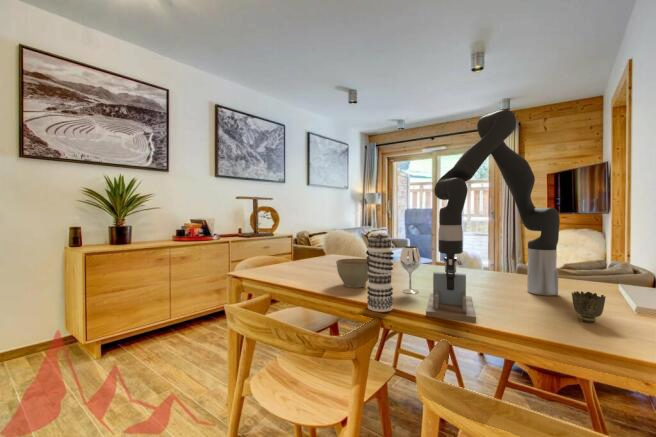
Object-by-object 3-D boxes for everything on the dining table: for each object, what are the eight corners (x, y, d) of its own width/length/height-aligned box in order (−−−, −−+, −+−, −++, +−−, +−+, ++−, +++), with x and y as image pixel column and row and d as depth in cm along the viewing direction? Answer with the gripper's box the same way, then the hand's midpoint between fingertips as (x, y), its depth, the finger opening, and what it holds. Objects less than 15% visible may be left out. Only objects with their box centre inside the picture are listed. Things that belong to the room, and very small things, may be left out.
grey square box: (433, 300, 103) (433, 271, 103) (465, 303, 99) (465, 274, 99) (433, 302, 101) (433, 273, 101) (465, 306, 97) (465, 275, 97)
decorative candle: (377, 314, 95) (377, 235, 94) (361, 305, 103) (360, 233, 103) (399, 309, 99) (399, 234, 99) (382, 301, 107) (382, 232, 107)
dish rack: (430, 296, 113) (430, 281, 113) (471, 300, 108) (471, 284, 108) (425, 316, 93) (425, 296, 93) (476, 321, 87) (476, 301, 87)
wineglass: (421, 294, 116) (421, 248, 116) (400, 293, 118) (400, 248, 117) (419, 289, 124) (419, 246, 124) (399, 288, 126) (399, 245, 125)
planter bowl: (379, 283, 134) (378, 259, 134) (363, 292, 121) (363, 265, 120) (347, 279, 143) (347, 257, 143) (329, 287, 129) (329, 262, 129)
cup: (564, 317, 91) (565, 291, 90) (587, 316, 91) (587, 290, 91) (588, 326, 83) (588, 298, 83) (612, 325, 84) (612, 297, 84)
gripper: (463, 241, 92) (463, 293, 92) (462, 237, 105) (462, 283, 105) (437, 240, 95) (437, 291, 95) (439, 236, 108) (439, 281, 108)
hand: (450, 286), depth 100 cm, fingers open, 8 cm apart
